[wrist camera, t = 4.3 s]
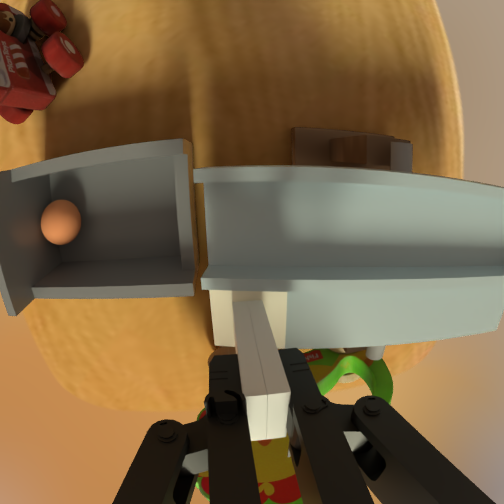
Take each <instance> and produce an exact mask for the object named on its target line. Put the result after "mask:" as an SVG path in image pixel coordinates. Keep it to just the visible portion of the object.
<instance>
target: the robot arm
mask: <svg viewBox="0 0 504 504" xmlns="http://www.w3.org/2000/svg"><path fill="white" fill-rule="evenodd" d="M232 306H233V323H234V338H235V350H236V354H229V355H214V357H213V358H212V360H211V361H210V363H209V394H208V395H207V396H206V397H205V401H204V405H205V410H206V414H205V415H204V417H202V418H201V419H199V420H197V421H195V422H192V423H188V424H184V425H182V424H181V423H180V422H177V421H175V420H161V421H158V422H156V423H154V424H153V425H152V426H151V427H150V428H149V430H148V431H147V434H146V436H145V438H144V440H143V442H142V444H141V446H140V448H139V450H138V452H137V454H136V456H135V458H134V460H133V462H132V464H131V466H130V468H129V470H128V472H127V475H126V477H125V478H124V480H123V483H122V485H121V487H120V489H119V491H118V493H117V495H116V497H115V499H114V501H113V503H112V504H190V501H191V498H192V495H193V491H194V488H195V485H196V482H197V478H198V475H199V473H201V472H205V471H208V475H209V499H210V504H261V499H260V493H259V487H258V481H257V475H256V469H255V463H254V457H253V450H252V444H251V441H257V440H266V439H274V438H282V437H286V434H287V433H288V436H289V446H288V456H287V457H290V456H291V459H292V463H293V467H294V470H295V474H296V478H297V482H298V486H299V490H300V494H301V497H302V501H303V504H374V502H373V499H372V497H371V495H370V492H369V490H368V488H367V486H368V487H369V488H370V490H371V491H372V492H373V493H374V495H375V496H376V497H377V498H378V499H379V501H380V502H381V503H382V504H496V503H495V502H493V501H492V500H491V499H490V498H489V497H488V496H487V495H486V494H485V493H484V492H482V491H481V490H480V489H479V488H478V487H477V486H476V485H475V484H474V483H473V482H472V481H470V480H469V479H468V478H467V477H466V476H465V475H464V474H463V473H462V472H461V471H459V470H458V469H457V468H456V467H455V466H454V465H453V464H452V463H451V462H450V461H449V460H448V459H447V458H446V457H444V456H443V455H442V454H441V453H440V452H439V451H438V450H437V449H436V448H435V447H434V446H433V445H432V444H431V443H429V441H427V440H426V439H425V438H424V437H423V436H422V435H421V434H420V433H419V432H418V431H417V430H416V429H415V428H414V427H413V426H412V425H411V424H409V423H408V422H407V421H406V420H405V419H404V418H403V417H402V416H401V415H400V414H399V413H398V412H397V411H396V410H395V409H394V408H393V407H392V406H390V404H389V403H388V402H386V401H385V400H384V399H382V398H381V397H377V396H365V397H361V398H360V399H359V400H357V401H356V403H355V405H341V404H335V403H332V402H330V401H329V400H328V399H327V398H326V397H324V396H322V395H321V393H320V391H319V388H318V386H317V384H316V381H315V379H314V377H313V374H312V372H311V370H310V367H309V365H308V364H307V360H306V358H305V356H304V354H303V353H302V352H301V351H300V350H298V349H297V348H288V349H279V350H278V349H277V346H276V343H275V339H274V336H273V333H272V330H271V327H270V323H269V320H268V317H267V314H266V311H265V307H264V304H263V301H262V300H254V301H239V302H232Z"/></svg>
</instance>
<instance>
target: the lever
mask: <svg viewBox="0 0 504 504" xmlns="http://www.w3.org/2000/svg"><path fill="white" fill-rule="evenodd" d="M193 176H194V183H204V201H205V219H206V235H207V250H208V263H209V265H208V267H207V269H206V270H205V272H204V273H203V275H202V277H201V286H202V290H209V293H210V304H211V314H212V324H213V333H214V342H215V345H216V346H228V347H235V338H234V323H233V306H232V302H239V301H254V300H262V301H263V304H264V307H265V311H266V314H267V317H268V320H269V323H270V327H271V330H272V333H273V336H274V339H275V343H276V346H277V348H280V349H288V348H297V349H319V348H351V347H367V350H366V357H367V358H369V359H371V360H380V359H381V358H382V357H383V353H384V350H385V346H386V345H397V344H407V343H417V342H426V341H434V340H442V339H449V338H456V337H462V336H468V335H474V334H480V333H486V332H490V331H496V330H497V328H498V325H499V322H500V319H501V317H502V314H503V310H504V187H501V186H496V185H491V184H485V183H480V182H474V181H468V180H463V179H456V178H450V177H443V176H436V175H428V174H420V173H412V144H410V143H403V142H391V168H390V170H381V169H368V168H353V167H334V166H305V165H245V166H216V167H204V168H197V169H193Z"/></svg>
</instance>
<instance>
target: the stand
mask: <svg viewBox="0 0 504 504" xmlns="http://www.w3.org/2000/svg"><path fill="white" fill-rule="evenodd" d="M391 142H403V143H410V141H407V140H401V139H395V138H394V137H393V136H386V135H379V134H372V133H363V132H354V131H344V130H333V129H319V128H301V127H294V128H292V165H305V166H334V167H353V168H368V169H381V170H390V168H391ZM343 349H344V351H345V353H346V354H347V353H352V352H357V351H362V350H367V347H351V348H343Z"/></svg>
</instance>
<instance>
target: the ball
mask: <svg viewBox="0 0 504 504" xmlns="http://www.w3.org/2000/svg"><path fill="white" fill-rule="evenodd" d="M80 228H81V215H80V212H79V210H78V208H77V207H76V206H75V205H74V204H73V203H72V202H70V201H68V200H56V201H53V202H52V203H50V204H49V205H48V206H47V207H46V208H45V210H44V212H43V214H42V217H41V229H42V232H43V234H44V236H45V237H46V239H47V240H48V241H50V242H51V243H53V244H56V245H64V244H67V243H69V242H71V241H72V240H74V239H75V238H76V236H77V235H78V233H79V231H80Z"/></svg>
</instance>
